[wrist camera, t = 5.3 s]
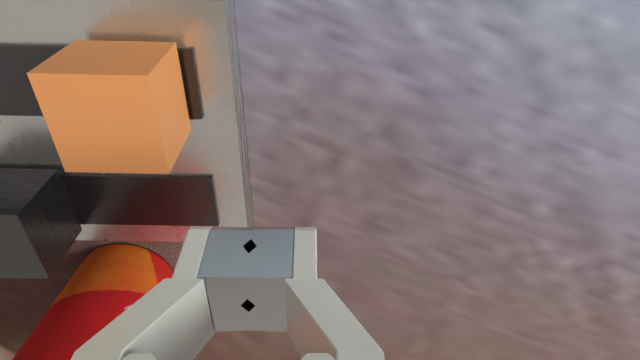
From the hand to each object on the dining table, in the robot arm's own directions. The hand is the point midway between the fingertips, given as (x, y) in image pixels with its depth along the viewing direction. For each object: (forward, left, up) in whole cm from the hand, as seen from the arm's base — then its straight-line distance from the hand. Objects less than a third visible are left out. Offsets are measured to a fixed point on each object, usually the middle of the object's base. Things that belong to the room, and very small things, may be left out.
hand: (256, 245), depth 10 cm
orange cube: (0, +6, -10) cm, 11 cm away
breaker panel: (-3, +10, -12) cm, 16 cm away
